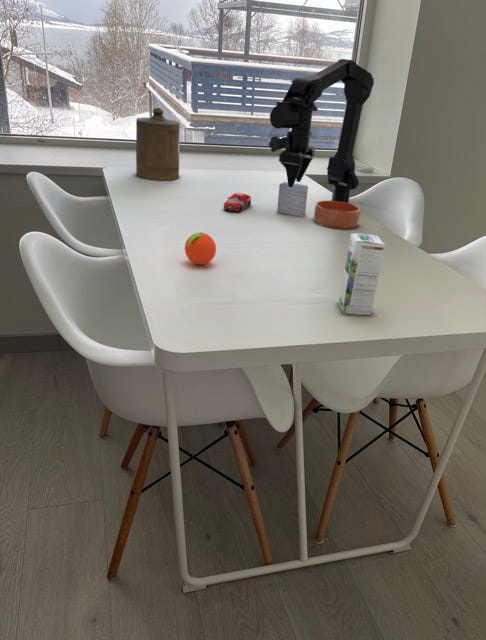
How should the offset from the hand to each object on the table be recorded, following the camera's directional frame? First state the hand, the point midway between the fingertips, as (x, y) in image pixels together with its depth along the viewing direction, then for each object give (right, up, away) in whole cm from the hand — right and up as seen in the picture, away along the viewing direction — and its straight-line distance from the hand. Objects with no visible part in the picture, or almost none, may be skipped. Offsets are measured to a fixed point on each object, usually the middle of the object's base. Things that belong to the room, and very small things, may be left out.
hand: (294, 184), depth 173 cm
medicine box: (-1, -8, +4) cm, 9 cm away
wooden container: (-47, +14, +33) cm, 60 cm away
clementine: (-23, -33, -43) cm, 59 cm away
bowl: (+12, -12, 0) cm, 17 cm away
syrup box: (+10, -45, -57) cm, 73 cm away
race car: (-17, -6, +4) cm, 19 cm away
